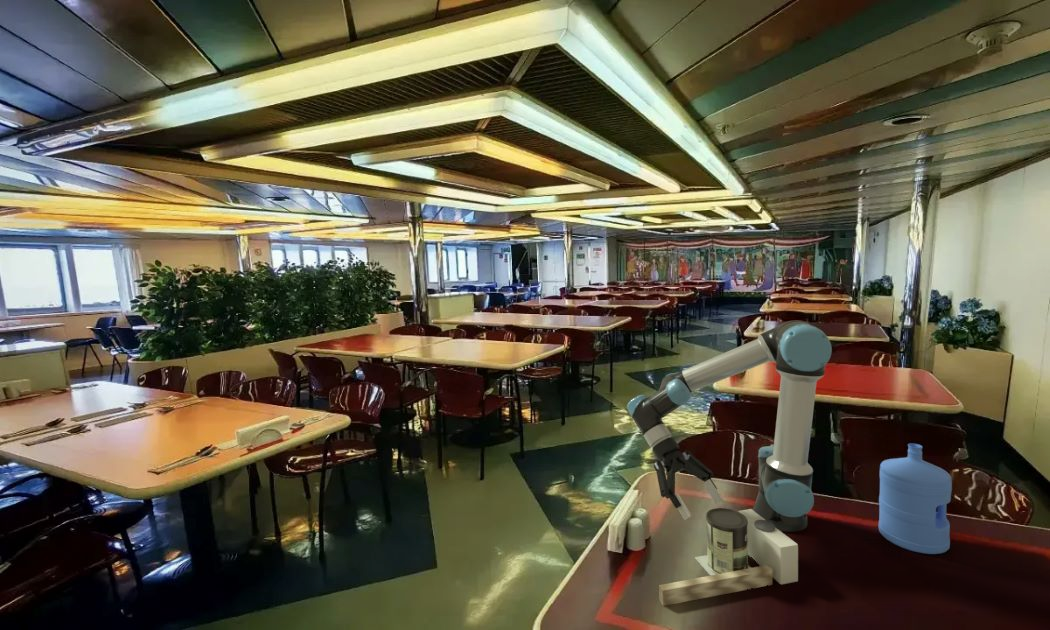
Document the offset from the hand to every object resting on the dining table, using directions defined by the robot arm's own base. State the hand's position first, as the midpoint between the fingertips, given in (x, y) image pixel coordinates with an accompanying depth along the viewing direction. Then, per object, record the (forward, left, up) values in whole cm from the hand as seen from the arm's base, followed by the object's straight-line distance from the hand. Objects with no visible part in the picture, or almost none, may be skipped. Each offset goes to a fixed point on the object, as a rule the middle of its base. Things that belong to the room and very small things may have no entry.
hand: (704, 510), depth 127 cm
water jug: (-61, +8, -14) cm, 63 cm away
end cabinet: (-7, +6, -14) cm, 16 cm away
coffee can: (-3, +6, -14) cm, 15 cm away
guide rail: (+5, +14, -14) cm, 20 cm away
